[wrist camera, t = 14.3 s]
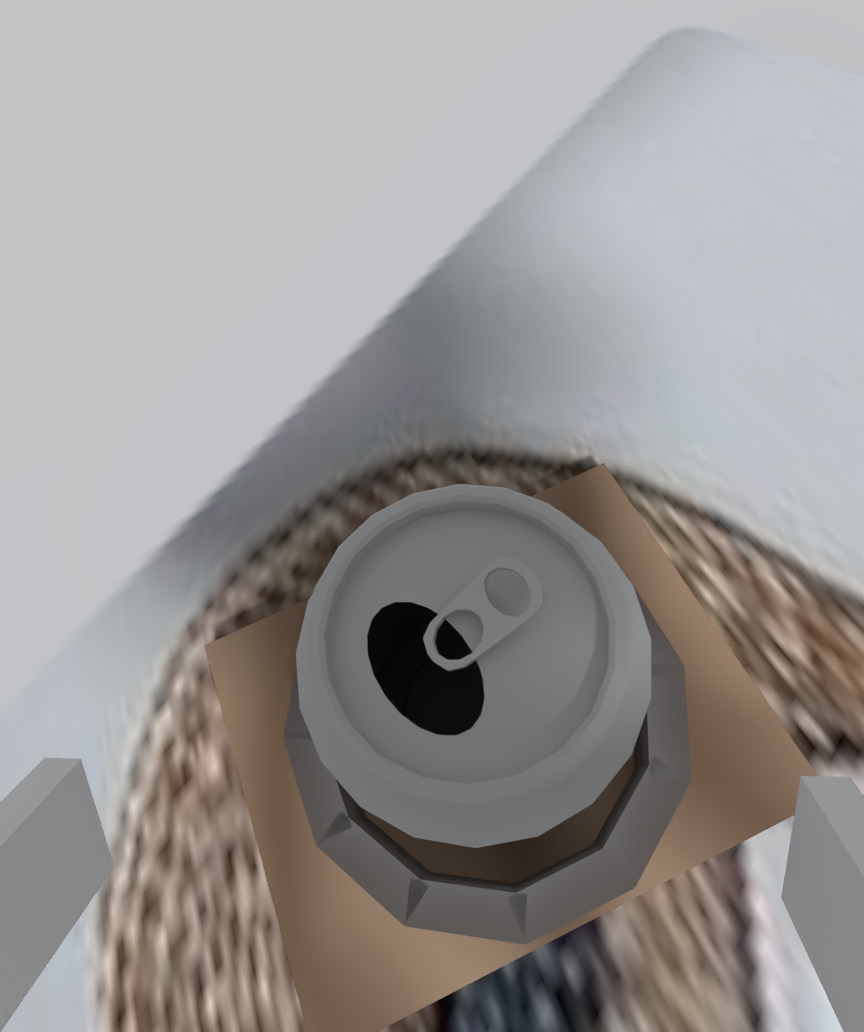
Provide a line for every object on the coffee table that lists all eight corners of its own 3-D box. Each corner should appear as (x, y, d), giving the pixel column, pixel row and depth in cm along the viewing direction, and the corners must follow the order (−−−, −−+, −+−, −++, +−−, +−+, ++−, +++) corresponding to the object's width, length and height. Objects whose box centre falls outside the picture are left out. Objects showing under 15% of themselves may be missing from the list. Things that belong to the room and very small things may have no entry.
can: (345, 695, 23) (200, 595, 12) (501, 576, 24) (492, 391, 14) (469, 882, 20) (418, 967, 9) (639, 734, 21) (768, 658, 11)
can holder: (600, 475, 27) (612, 430, 24) (816, 796, 21) (871, 793, 18) (215, 651, 25) (173, 628, 22) (325, 1051, 19) (288, 1098, 16)
